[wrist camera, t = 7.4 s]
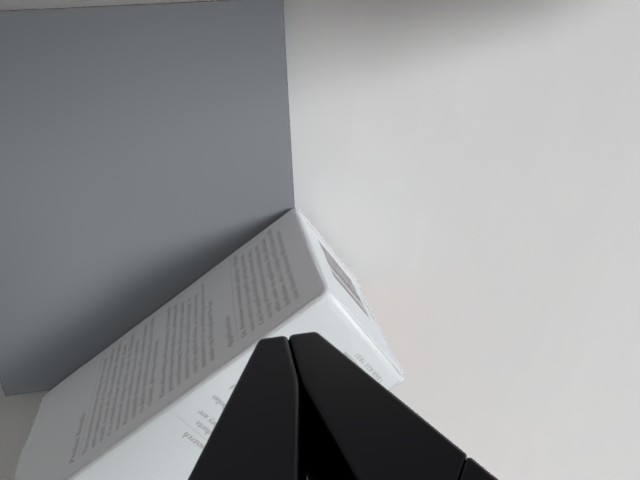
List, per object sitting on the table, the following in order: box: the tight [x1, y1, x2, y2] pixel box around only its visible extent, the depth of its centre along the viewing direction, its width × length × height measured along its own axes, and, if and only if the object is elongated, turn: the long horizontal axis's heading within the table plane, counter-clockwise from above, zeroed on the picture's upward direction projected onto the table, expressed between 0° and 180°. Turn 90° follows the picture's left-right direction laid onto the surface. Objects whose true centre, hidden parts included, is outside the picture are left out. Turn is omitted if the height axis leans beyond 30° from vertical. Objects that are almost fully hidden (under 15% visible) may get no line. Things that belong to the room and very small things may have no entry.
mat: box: [0, 0, 295, 396], centre depth 20 cm, size 11×13×1 cm
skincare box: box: [14, 208, 404, 480], centre depth 20 cm, size 6×4×12 cm
